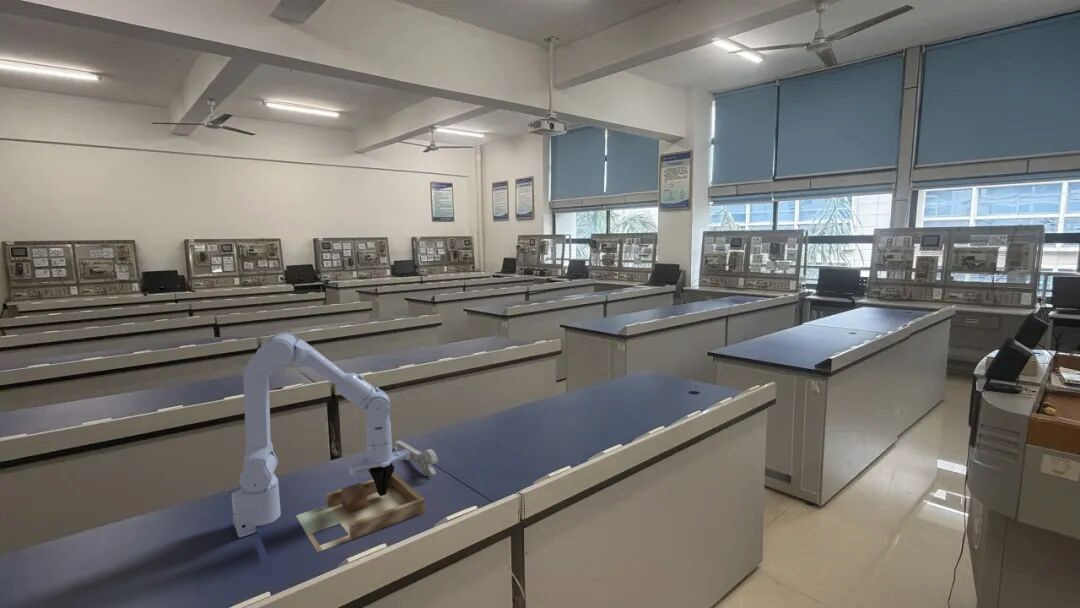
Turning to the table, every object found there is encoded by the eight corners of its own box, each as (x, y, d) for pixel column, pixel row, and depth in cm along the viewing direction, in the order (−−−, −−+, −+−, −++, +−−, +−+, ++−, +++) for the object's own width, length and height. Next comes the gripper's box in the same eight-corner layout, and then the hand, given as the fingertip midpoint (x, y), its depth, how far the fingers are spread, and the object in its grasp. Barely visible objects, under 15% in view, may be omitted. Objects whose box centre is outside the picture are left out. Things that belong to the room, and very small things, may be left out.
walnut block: (348, 513, 116) (347, 495, 115) (342, 506, 119) (341, 488, 119) (367, 507, 119) (366, 489, 118) (361, 500, 122) (360, 482, 122)
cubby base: (317, 557, 102) (316, 538, 101) (295, 520, 116) (294, 503, 115) (425, 516, 117) (425, 499, 116) (395, 488, 131) (394, 472, 130)
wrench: (400, 456, 157) (440, 481, 133) (394, 458, 156) (433, 483, 132) (398, 431, 157) (437, 451, 133) (392, 433, 156) (431, 453, 132)
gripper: (354, 454, 114) (358, 510, 115) (414, 438, 123) (416, 490, 125) (344, 445, 119) (348, 498, 121) (402, 430, 128) (404, 480, 130)
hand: (381, 493), depth 123 cm, fingers closed
